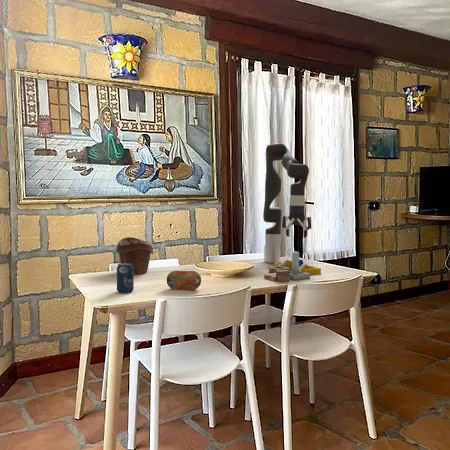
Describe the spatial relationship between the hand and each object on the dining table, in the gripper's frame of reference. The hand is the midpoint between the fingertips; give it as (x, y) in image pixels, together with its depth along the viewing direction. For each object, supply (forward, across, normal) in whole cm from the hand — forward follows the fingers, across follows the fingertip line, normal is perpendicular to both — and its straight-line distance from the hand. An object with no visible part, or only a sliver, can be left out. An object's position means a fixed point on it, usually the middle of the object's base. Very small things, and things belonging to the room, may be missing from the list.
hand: (296, 237), depth 227 cm
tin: (+20, -36, -50) cm, 64 cm away
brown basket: (+21, -78, -26) cm, 85 cm away
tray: (+20, 0, 0) cm, 20 cm away
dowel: (+20, 0, 0) cm, 20 cm away
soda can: (+20, -56, -65) cm, 88 cm away
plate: (+21, -8, -8) cm, 24 cm away
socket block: (+20, -11, +7) cm, 24 cm away
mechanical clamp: (+21, -2, +20) cm, 29 cm away
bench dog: (+20, -3, -12) cm, 23 cm away
